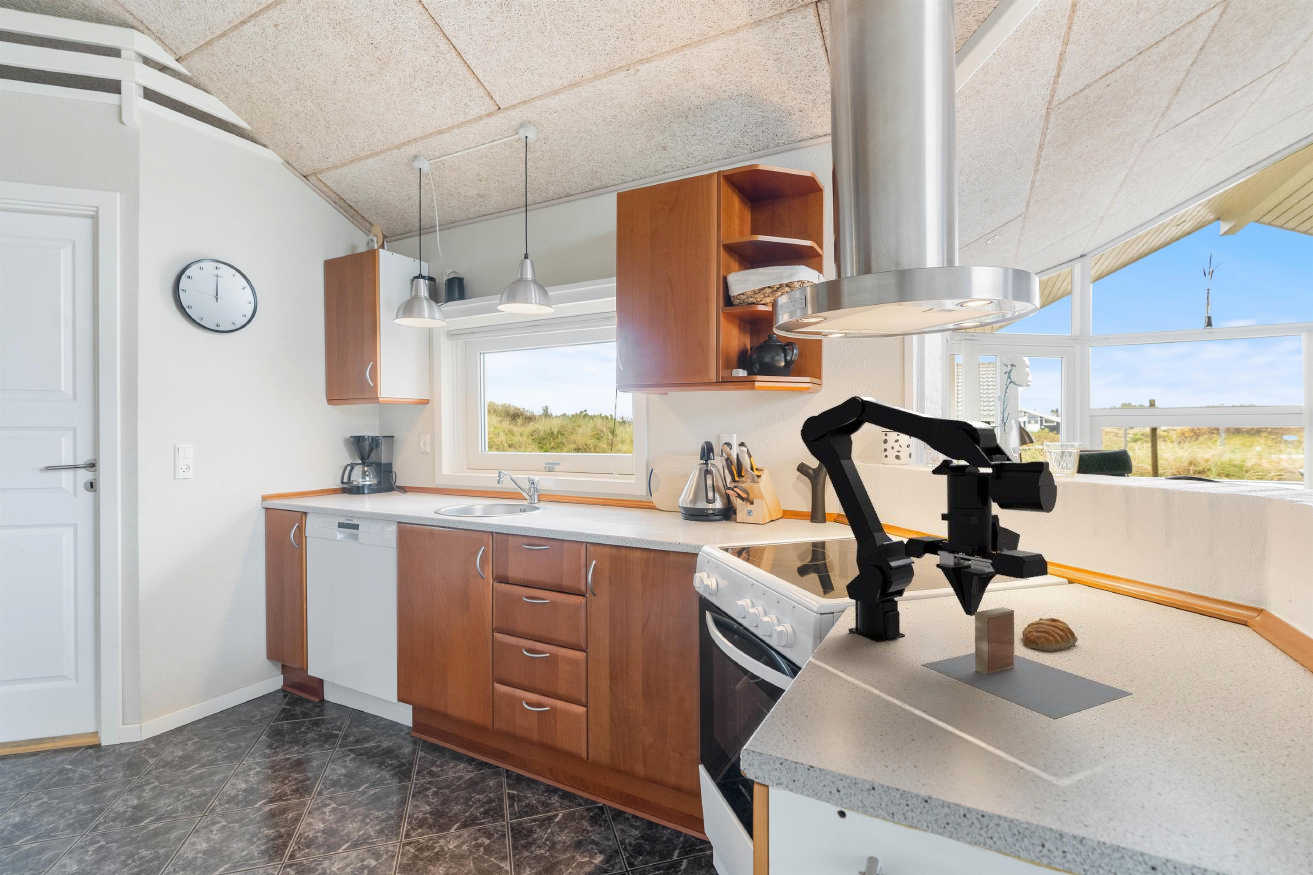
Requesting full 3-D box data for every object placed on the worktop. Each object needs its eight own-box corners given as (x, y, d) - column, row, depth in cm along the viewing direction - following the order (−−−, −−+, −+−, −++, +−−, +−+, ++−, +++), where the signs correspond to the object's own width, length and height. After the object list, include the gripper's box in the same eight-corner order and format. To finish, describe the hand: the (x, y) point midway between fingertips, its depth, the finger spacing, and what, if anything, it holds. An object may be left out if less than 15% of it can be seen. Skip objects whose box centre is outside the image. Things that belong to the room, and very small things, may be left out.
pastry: (1063, 659, 85) (1062, 633, 85) (1011, 648, 90) (1011, 623, 90) (1079, 645, 91) (1078, 621, 91) (1030, 635, 96) (1030, 612, 96)
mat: (920, 667, 81) (920, 664, 81) (994, 650, 88) (994, 647, 88) (1054, 722, 65) (1054, 718, 65) (1132, 696, 72) (1132, 693, 72)
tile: (975, 670, 79) (974, 612, 79) (1003, 663, 82) (1002, 607, 82) (987, 674, 78) (986, 615, 78) (1015, 667, 80) (1014, 610, 80)
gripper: (1071, 510, 78) (1073, 625, 78) (950, 500, 95) (951, 594, 95) (1019, 514, 74) (1021, 636, 73) (901, 502, 91) (902, 602, 90)
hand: (970, 614), depth 83 cm, fingers closed
